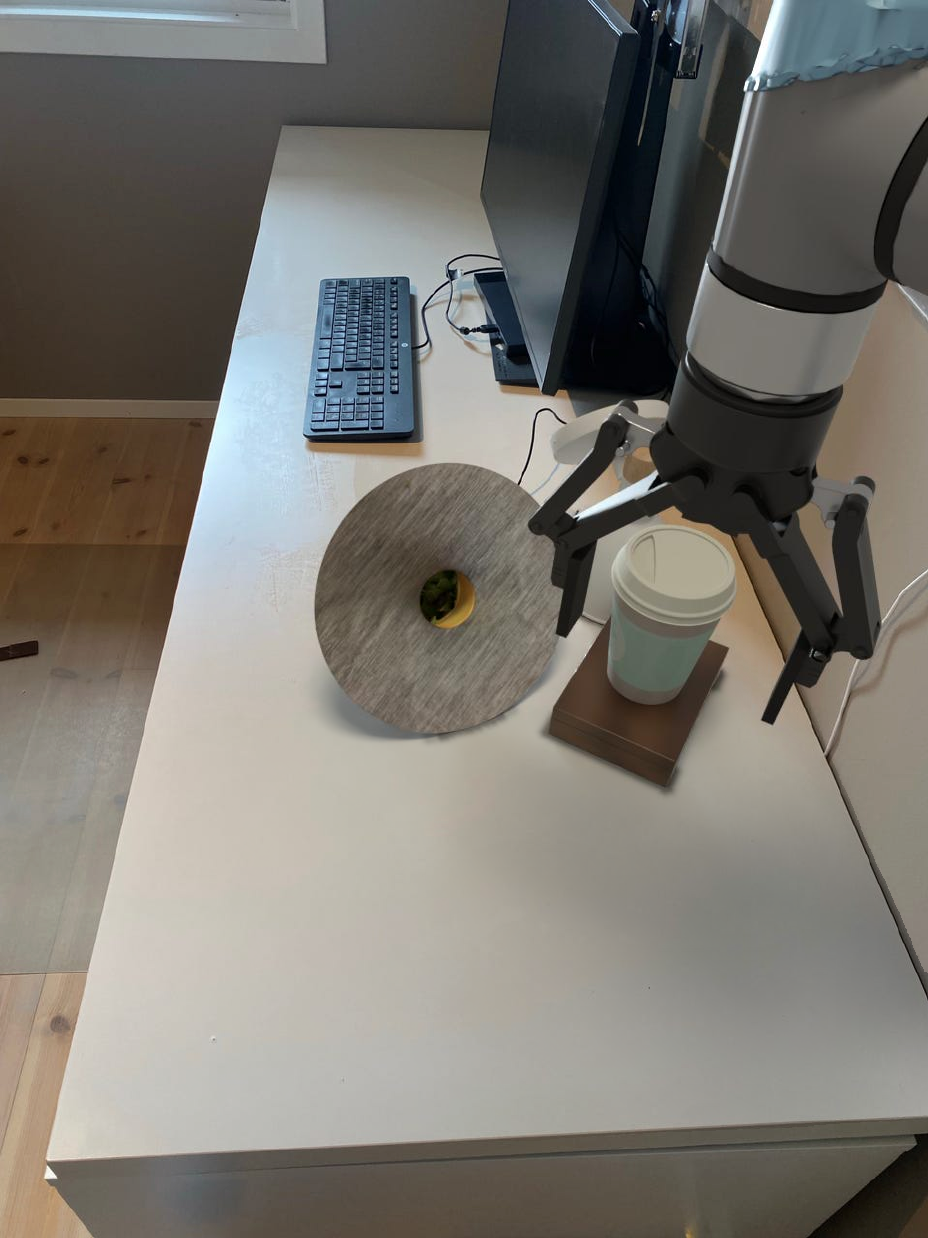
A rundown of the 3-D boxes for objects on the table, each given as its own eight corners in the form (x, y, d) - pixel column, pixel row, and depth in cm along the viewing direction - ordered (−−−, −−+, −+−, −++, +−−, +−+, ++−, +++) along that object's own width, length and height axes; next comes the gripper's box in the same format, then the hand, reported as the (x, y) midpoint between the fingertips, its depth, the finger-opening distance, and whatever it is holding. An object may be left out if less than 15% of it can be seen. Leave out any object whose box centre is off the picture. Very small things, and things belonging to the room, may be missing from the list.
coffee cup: (628, 619, 92) (658, 502, 81) (721, 673, 87) (766, 558, 76) (566, 678, 86) (591, 561, 75) (663, 740, 81) (703, 625, 71)
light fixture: (563, 647, 102) (636, 617, 83) (519, 471, 104) (579, 402, 85) (664, 624, 105) (756, 591, 86) (618, 454, 107) (698, 384, 88)
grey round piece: (550, 658, 102) (480, 447, 98) (618, 678, 85) (537, 425, 81) (344, 744, 96) (260, 523, 92) (373, 784, 80) (272, 516, 76)
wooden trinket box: (719, 673, 93) (729, 647, 90) (666, 787, 83) (676, 762, 80) (611, 629, 96) (617, 602, 93) (547, 733, 86) (552, 707, 83)
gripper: (1059, 406, 40) (879, 704, 56) (554, 262, 48) (517, 559, 63) (1047, 495, 36) (853, 793, 51) (489, 320, 43) (465, 625, 58)
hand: (667, 664), depth 57 cm, fingers open, 13 cm apart
